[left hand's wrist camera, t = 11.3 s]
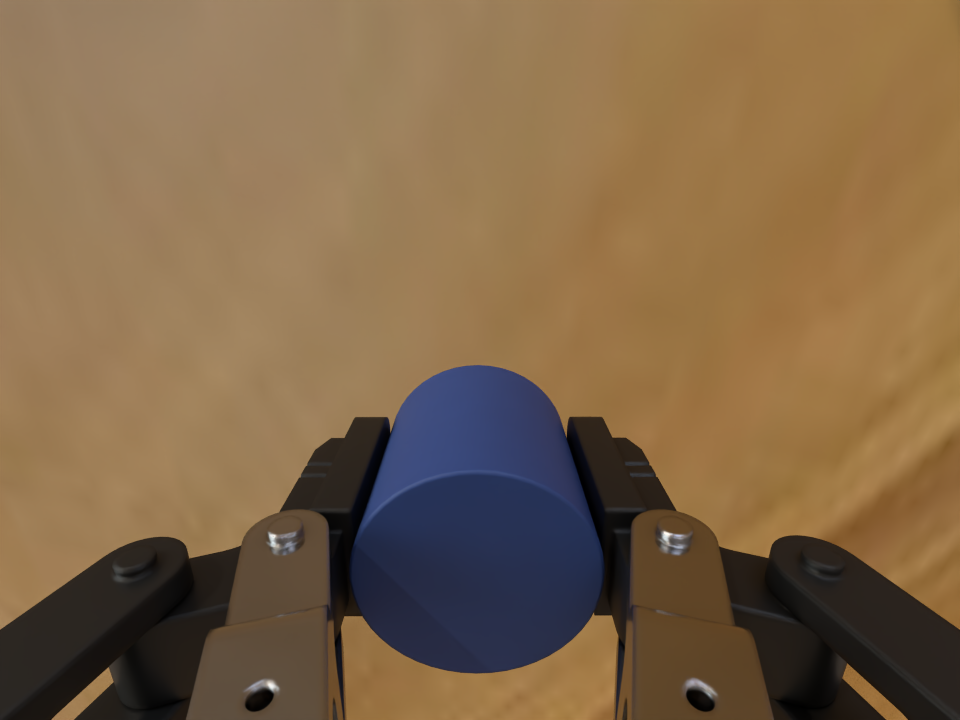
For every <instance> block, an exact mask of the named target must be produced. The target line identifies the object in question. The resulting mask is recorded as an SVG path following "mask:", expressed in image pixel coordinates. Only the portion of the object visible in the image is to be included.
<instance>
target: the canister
mask: <svg viewBox="0 0 960 720" xmlns="http://www.w3.org/2000/svg"><path fill="white" fill-rule="evenodd" d="M604 572H605V565H604V558H603V552H602V548H601V545H600V542H599V539H598V536H597V532H596V529H595V526H594V523H593V520H592V517H591V514H590V511H589V507H588V504H587V501H586V498H585V495H584V492H583V489H582V485H581V482H580V479H579V476H578V473H577V470H576V467H575V463H574V460H573V457H572V454H571V451H570V448H569V445H568V442H567V438H566V435H565V432H564V429H563V426H562V423H561V420H560V417H559V414H558V412H557V410H556V408H555V406H554V405H553V403H552V402H551V400H550V399H549V398H548V397H547V395H546V394H545V393H544V392H543V391H542V390H541V389H540V388H539V387H537V386H536V385H535V384H534V383H532V382H531V381H529V380H528V379H526V378H525V377H523V376H521V375H519V374H516V373H514V372H512V371H509V370H506V369H503V368H498V367H493V366H482V365H474V366H463V367H458V368H453V369H450V370H447V371H444V372H441V373H439V374H437V375H435V376H433V377H431V378H429V379H428V380H426V381H425V382H423V383H422V384H421V385H419V386H418V387H417V388H416V389H415V390H414V391H413V392H412V393H411V394H410V395H409V396H408V397H407V399H406V400H405V401H404V403H403V404H402V406H401V408H400V410H399V412H398V414H397V416H396V419H395V422H394V425H393V428H392V431H391V434H390V437H389V440H388V443H387V446H386V449H385V452H384V455H383V458H382V461H381V464H380V467H379V470H378V473H377V476H376V479H375V482H374V485H373V488H372V491H371V494H370V497H369V500H368V503H367V506H366V509H365V512H364V515H363V518H362V521H361V523H360V526H359V529H358V532H357V535H356V538H355V542H354V545H353V548H352V551H351V557H350V564H349V575H350V583H351V589H352V593H353V596H354V599H355V602H356V605H357V607H358V609H359V611H360V613H361V614H362V616H363V618H364V619H365V621H366V622H367V623H368V625H369V626H370V628H371V629H372V630H373V631H374V632H375V633H376V634H377V635H378V636H379V637H380V638H381V639H382V640H383V641H385V642H386V643H387V644H388V645H389V646H391V647H392V648H394V649H395V650H397V651H398V652H400V653H401V654H403V655H405V656H407V657H409V658H411V659H413V660H415V661H417V662H420V663H423V664H425V665H428V666H431V667H435V668H439V669H443V670H447V671H454V672H460V673H493V672H501V671H507V670H511V669H516V668H520V667H523V666H526V665H529V664H532V663H535V662H537V661H539V660H541V659H543V658H545V657H547V656H549V655H551V654H553V653H554V652H556V651H558V650H559V649H561V648H562V647H563V646H565V645H566V644H567V643H568V642H570V641H571V640H572V639H573V638H574V637H575V636H576V635H577V634H578V633H579V632H580V631H581V630H582V629H583V628H584V626H585V625H586V624H587V622H588V621H589V620H590V618H591V616H592V614H593V613H594V611H595V609H596V607H597V605H598V602H599V599H600V596H601V593H602V588H603V583H604Z"/></svg>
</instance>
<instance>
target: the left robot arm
mask: <svg viewBox="0 0 960 720" xmlns="http://www.w3.org/2000/svg"><path fill="white" fill-rule="evenodd" d="M389 437H390V424H389V419H388V417H355V418H354V420H353V422H352V424H351V426H350V428H349V430H348V432H347V434H346V436H345V438H331V439H329V440H328V441H327V442H325V443H324V444H323V445H321V446H320V447H319V448H317V449H316V450H315V451H314V453H313V455H312V457H311V458H310V460H309V462H308V465H307V466H306V467H305V469H304V470H303V472H302V474H301V478H299V479H298V481H297V482H296V484H295V486H294V488H293V489H292V491H291V493H290V495H289V496H288V498H287V500H286V501H285V503H284V505H283V507H282V508H281V510H280V512H279V513H276V514H273V515H270V516H268V517H266V518H264V519H262V520H261V521H259V522H258V523H256V524H255V525H254V526H252V527H251V528H250V529H249V530H248V532H247V533H246V534H245V536H244V538H243V541H242V545H241V546H239V547H236V548H233V549H230V550H226V551H222V552H217V553H213V554H208V555H204V556H199V557H194V558H190V559H189V556H188V551H187V548H186V546H185V544H184V543H183V542H181V541H180V540H178V539H175V538H170V537H153V538H147V539H143V540H139V541H135V542H133V543H130V544H127V545H125V546H122V547H120V548H118V549H116V550H114V551H113V552H111V553H109V554H108V555H106V556H105V557H103V558H102V559H100V560H99V561H97V562H96V563H95V564H93V565H92V566H90V567H89V568H87V569H86V570H85V571H83V572H82V573H80V574H79V575H77V576H76V577H75V578H73V579H72V580H70V581H69V582H68V583H66V584H65V585H63V586H62V587H60V588H59V589H58V590H56V591H55V592H53V593H52V594H50V595H49V596H48V597H46V598H45V599H43V600H42V601H41V602H39V603H38V604H36V605H35V606H33V607H32V608H31V609H29V610H28V611H26V612H25V613H23V614H22V615H21V616H19V617H18V618H16V619H15V620H14V621H12V622H11V623H9V624H8V625H6V626H5V627H4V628H2V629H1V630H0V720H51V719H52V718H53V717H54V716H55V715H56V714H57V713H58V712H59V711H60V710H62V709H63V708H64V707H65V706H66V705H67V704H68V703H69V702H70V701H71V700H73V699H74V698H75V697H76V696H77V695H78V694H79V693H80V692H81V691H82V690H84V689H85V688H86V687H87V686H88V685H89V684H90V683H91V682H92V681H93V680H95V679H96V678H97V677H98V676H99V675H100V674H101V673H102V672H103V671H104V670H106V669H107V668H108V667H109V669H110V672H111V675H112V678H113V681H114V682H113V683H112V684H111V685H110V686H109V687H108V688H107V689H106V690H105V691H104V692H103V693H102V694H101V695H100V696H99V697H98V698H96V699H95V700H94V701H93V702H92V703H91V704H90V705H89V706H88V707H87V708H86V709H85V710H84V711H83V712H82V713H81V714H80V715H78V716H77V717H76V718H75V719H74V720H347V717H346V695H345V673H344V652H343V641H342V632H341V625H342V622H343V619H344V616H362V614H361V613H360V611H359V609H358V607H357V605H356V602H355V599H354V596H353V593H352V589H351V583H350V575H349V564H350V557H351V551H352V548H353V545H354V542H355V538H356V535H357V532H358V529H359V526H360V523H361V521H362V518H363V515H364V512H365V509H366V506H367V503H368V500H369V497H370V494H371V491H372V488H373V485H374V482H375V479H376V476H377V473H378V470H379V467H380V464H381V461H382V458H383V455H384V452H385V449H386V446H387V443H388V440H389ZM567 442H568V445H569V448H570V451H571V454H572V457H573V460H574V463H575V467H576V470H577V473H578V476H579V479H580V482H581V485H582V489H583V492H584V495H585V498H586V501H587V504H588V507H589V511H590V514H591V517H592V520H593V523H594V526H595V529H596V532H597V536H598V539H599V542H600V545H601V548H602V552H603V558H604V565H605V572H604V583H603V588H602V593H601V596H600V599H599V602H598V605H597V607H596V609H595V611H594V615H612V617H613V620H614V624H615V627H616V631H617V633H618V641H617V652H616V673H615V695H614V717H613V720H886V719H885V718H884V717H883V716H881V715H880V714H879V713H878V712H877V711H876V710H875V709H874V708H873V707H872V706H871V705H870V704H869V703H868V702H867V701H866V700H865V699H864V698H862V697H861V696H860V695H859V694H858V693H857V692H856V691H855V690H854V689H853V688H852V687H851V686H850V685H849V684H848V683H847V682H846V681H844V680H843V679H842V677H843V674H844V671H845V668H846V665H847V663H848V664H849V665H850V666H851V667H852V668H853V669H854V670H856V671H857V672H858V673H859V674H860V675H861V676H862V677H863V678H864V679H865V680H867V681H868V682H869V683H870V684H871V685H872V686H873V687H874V688H875V689H876V690H878V691H879V692H880V693H881V694H882V695H883V696H884V697H885V698H886V699H887V700H889V701H890V702H891V703H892V704H893V705H894V706H895V707H896V708H897V709H898V710H899V711H900V712H901V713H902V714H903V715H904V716H905V717H906V718H907V719H908V720H960V630H959V629H958V628H956V627H955V626H954V625H952V624H951V623H949V622H948V621H946V620H945V619H944V618H942V617H941V616H939V615H938V614H937V613H935V612H934V611H932V610H931V609H929V608H928V607H927V606H925V605H924V604H922V603H921V602H919V601H918V600H917V599H915V598H914V597H912V596H911V595H910V594H908V593H907V592H905V591H904V590H902V589H901V588H900V587H898V586H897V585H895V584H894V583H892V582H891V581H890V580H888V579H887V578H885V577H884V576H882V575H881V574H880V573H878V572H877V571H875V570H874V569H873V568H871V567H870V566H868V565H867V564H865V563H864V562H863V561H861V560H860V559H858V558H857V557H855V556H854V555H853V554H851V553H849V552H848V551H846V550H844V549H843V548H841V547H839V546H837V545H834V544H832V543H830V542H827V541H824V540H821V539H817V538H813V537H808V536H798V535H794V536H785V537H782V538H779V539H778V540H776V541H775V542H774V543H773V544H772V547H771V550H770V554H769V558H765V557H760V556H756V555H751V554H746V553H742V552H737V551H733V550H729V549H725V548H722V547H719V545H718V541H717V538H716V536H715V534H714V533H713V532H712V530H711V529H710V528H709V527H708V526H706V525H705V524H704V523H702V522H701V521H699V520H698V519H696V518H694V517H692V516H690V515H687V514H684V513H681V512H678V511H676V509H675V507H674V505H673V504H672V502H671V500H670V498H669V497H668V495H667V493H666V491H665V490H664V488H663V486H662V484H661V483H660V481H659V479H658V477H656V474H655V472H654V470H653V469H652V467H651V466H649V462H648V460H647V458H646V456H645V454H644V453H643V451H642V449H640V448H639V447H638V446H636V445H635V444H634V443H632V442H631V441H630V440H628V439H627V438H612V436H611V434H610V432H609V430H608V428H607V426H606V423H605V421H604V419H603V418H602V417H569V420H568V426H567Z"/></svg>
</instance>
